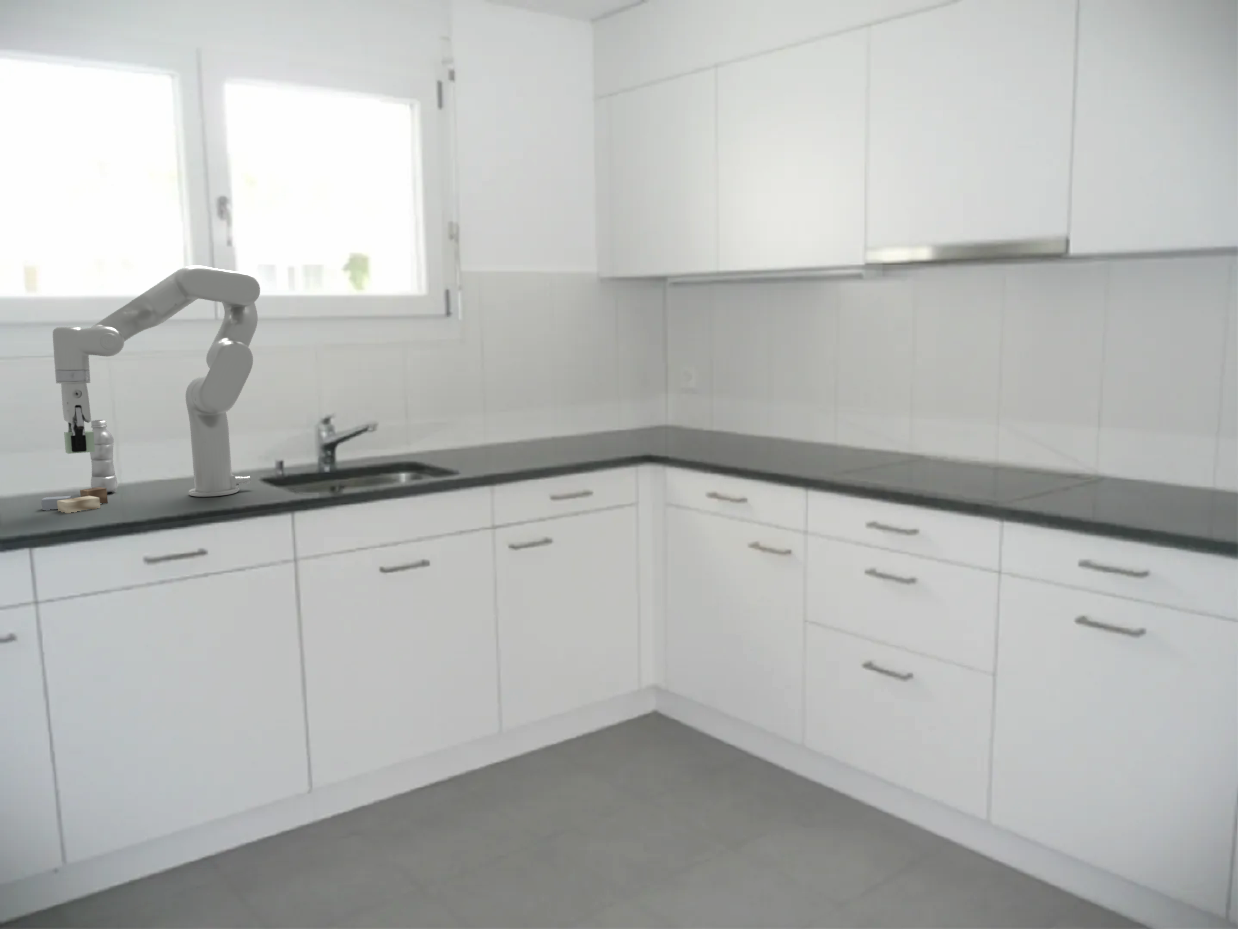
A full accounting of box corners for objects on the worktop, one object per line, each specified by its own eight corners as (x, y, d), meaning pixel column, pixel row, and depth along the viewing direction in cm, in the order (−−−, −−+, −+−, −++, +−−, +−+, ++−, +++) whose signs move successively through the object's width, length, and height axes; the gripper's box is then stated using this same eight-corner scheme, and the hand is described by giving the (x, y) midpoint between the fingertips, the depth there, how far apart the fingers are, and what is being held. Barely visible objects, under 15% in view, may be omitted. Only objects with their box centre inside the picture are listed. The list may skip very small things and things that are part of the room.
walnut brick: (100, 502, 261) (99, 487, 260) (107, 503, 259) (106, 488, 258) (81, 505, 257) (79, 490, 256) (88, 506, 255) (87, 491, 254)
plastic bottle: (107, 490, 278) (100, 418, 275) (123, 492, 275) (117, 419, 272) (86, 494, 272) (79, 421, 269) (102, 495, 269) (96, 422, 266)
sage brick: (92, 450, 253) (90, 430, 252) (94, 451, 250) (93, 432, 250) (65, 452, 250) (64, 432, 249) (68, 453, 247) (66, 433, 246)
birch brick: (90, 507, 255) (89, 495, 255) (100, 509, 252) (99, 497, 252) (58, 512, 249) (57, 500, 248) (67, 514, 246) (66, 502, 245)
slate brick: (72, 507, 255) (71, 495, 255) (69, 509, 252) (68, 498, 251) (46, 508, 253) (45, 497, 253) (42, 511, 250) (41, 499, 250)
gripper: (95, 378, 243) (100, 453, 245) (84, 375, 256) (88, 446, 258) (60, 378, 238) (66, 455, 241) (50, 376, 251) (55, 448, 254)
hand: (77, 449), depth 250 cm, fingers closed on sage brick, 3 cm apart
